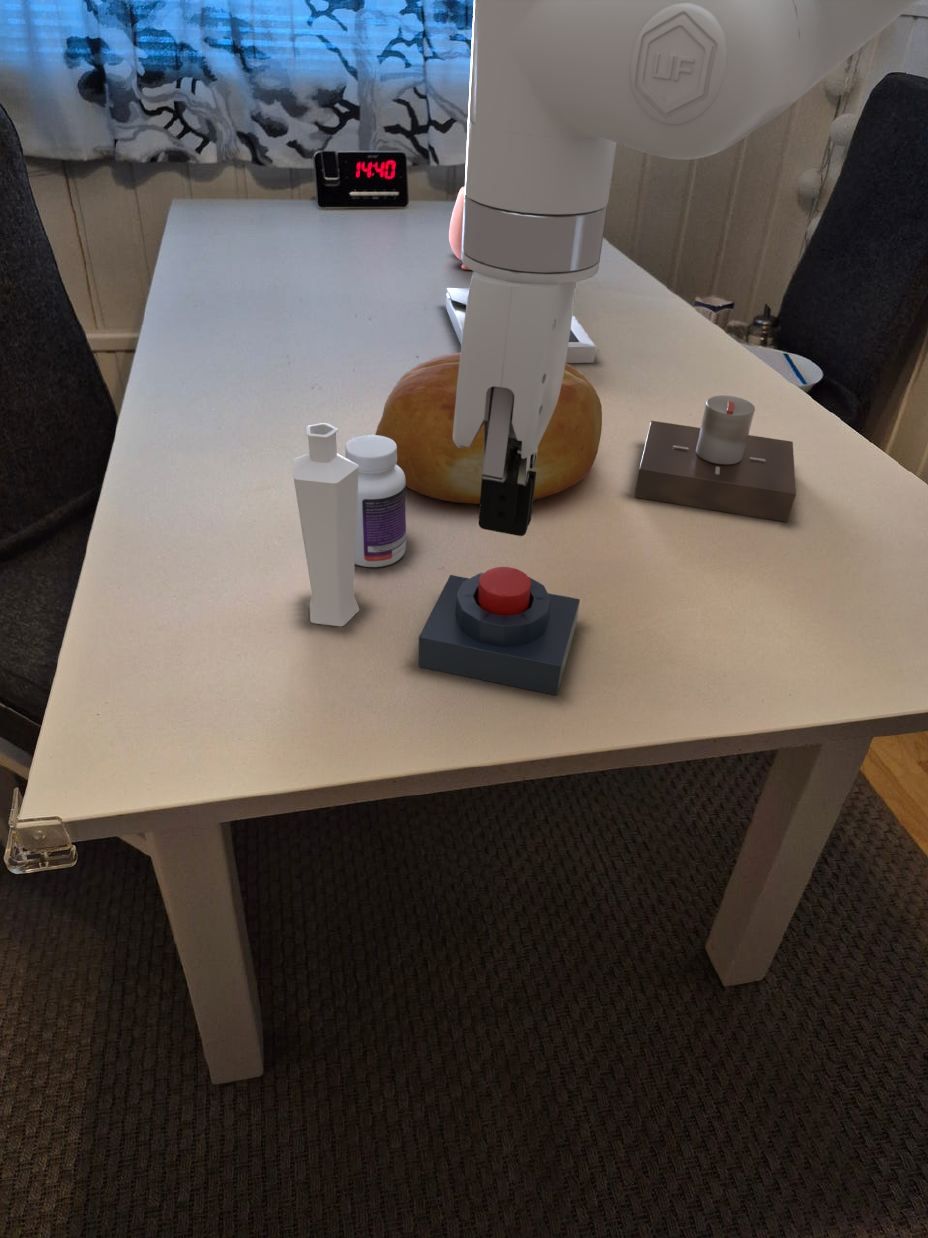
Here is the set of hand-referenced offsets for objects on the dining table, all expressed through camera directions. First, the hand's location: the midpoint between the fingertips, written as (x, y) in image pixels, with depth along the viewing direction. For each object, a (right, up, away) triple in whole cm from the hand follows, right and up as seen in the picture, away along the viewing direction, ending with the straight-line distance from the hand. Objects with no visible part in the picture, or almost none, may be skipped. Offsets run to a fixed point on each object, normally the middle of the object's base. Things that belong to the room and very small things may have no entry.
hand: (504, 525), depth 58 cm
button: (0, -5, +4) cm, 6 cm away
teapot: (+1, +52, +84) cm, 99 cm away
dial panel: (+22, +7, +27) cm, 36 cm away
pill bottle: (-10, -1, +16) cm, 19 cm away
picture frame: (+4, +31, +58) cm, 66 cm away
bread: (0, +9, +29) cm, 31 cm away
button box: (0, -8, +6) cm, 10 cm away
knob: (+22, +10, +26) cm, 35 cm away
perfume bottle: (-13, -6, +9) cm, 16 cm away
